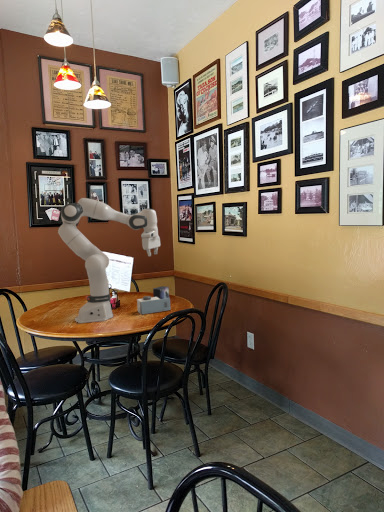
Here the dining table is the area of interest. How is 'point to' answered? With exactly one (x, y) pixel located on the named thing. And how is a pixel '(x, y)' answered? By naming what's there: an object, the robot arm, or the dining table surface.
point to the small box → (161, 292)
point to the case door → (155, 306)
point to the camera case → (145, 298)
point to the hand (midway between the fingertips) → (152, 255)
